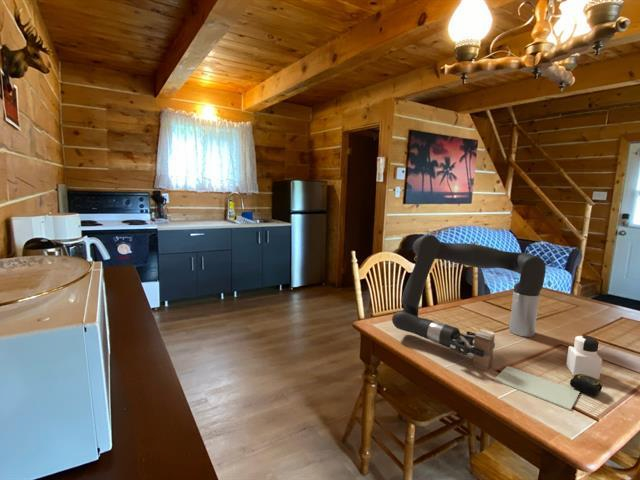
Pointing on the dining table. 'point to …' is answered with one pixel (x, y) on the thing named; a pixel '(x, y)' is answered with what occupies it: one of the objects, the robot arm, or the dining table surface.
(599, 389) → the tape measure
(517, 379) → the sage mat
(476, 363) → the walnut block
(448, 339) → the robot arm
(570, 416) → the dining table surface
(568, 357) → the medicine bottle
